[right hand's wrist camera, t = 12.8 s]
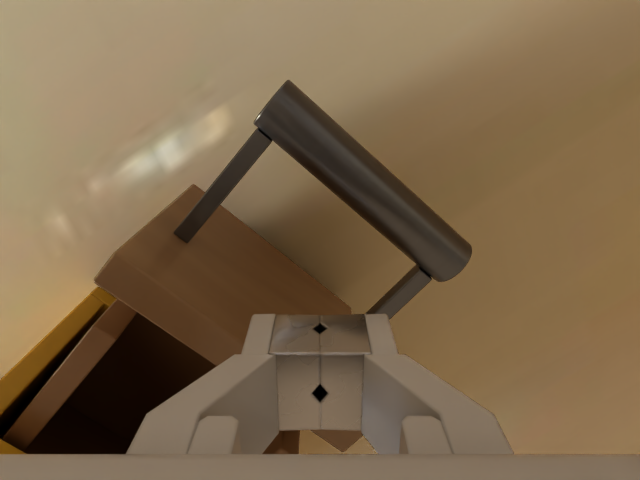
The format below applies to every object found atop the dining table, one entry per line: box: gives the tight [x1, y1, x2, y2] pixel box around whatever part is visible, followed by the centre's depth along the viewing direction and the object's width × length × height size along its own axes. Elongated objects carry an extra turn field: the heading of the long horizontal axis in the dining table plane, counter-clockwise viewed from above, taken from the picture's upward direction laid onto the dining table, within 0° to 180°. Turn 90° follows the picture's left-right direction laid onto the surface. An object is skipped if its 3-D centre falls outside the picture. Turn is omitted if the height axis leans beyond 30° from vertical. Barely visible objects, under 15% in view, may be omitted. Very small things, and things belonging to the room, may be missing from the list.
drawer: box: [1, 80, 472, 454], centre depth 18 cm, size 20×9×8 cm, turn 139°
